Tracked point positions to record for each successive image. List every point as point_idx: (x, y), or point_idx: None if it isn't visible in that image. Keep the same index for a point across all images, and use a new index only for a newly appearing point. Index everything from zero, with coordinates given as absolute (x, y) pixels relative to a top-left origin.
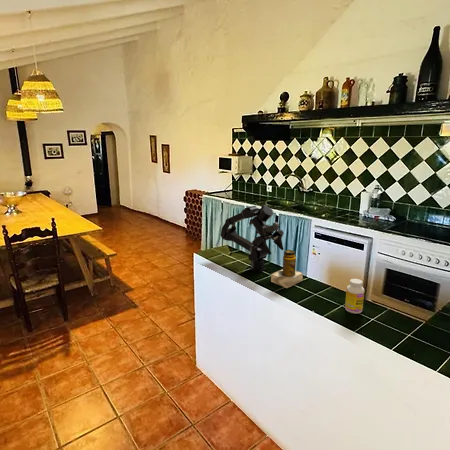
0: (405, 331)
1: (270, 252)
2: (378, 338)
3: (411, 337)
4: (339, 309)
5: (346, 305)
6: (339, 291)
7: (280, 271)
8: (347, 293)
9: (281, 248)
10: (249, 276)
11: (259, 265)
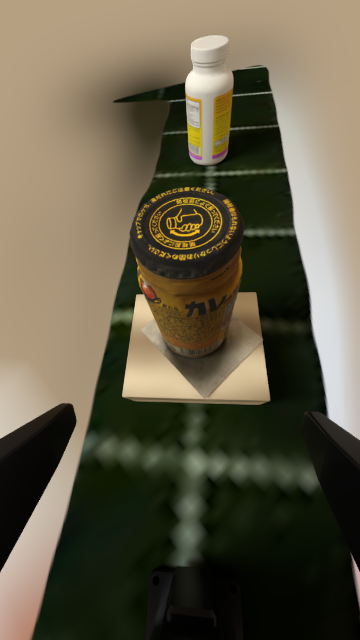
0: None
1: (330, 421)
2: (265, 106)
3: None
4: (231, 168)
5: (226, 144)
6: None
7: (201, 380)
8: (229, 100)
9: (61, 433)
10: (325, 586)
11: (219, 619)
